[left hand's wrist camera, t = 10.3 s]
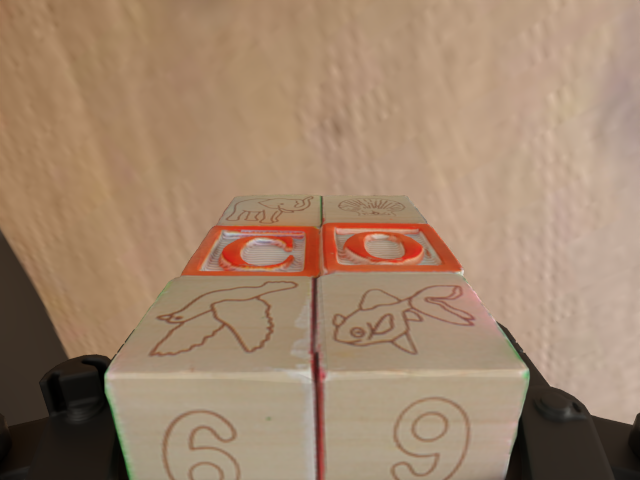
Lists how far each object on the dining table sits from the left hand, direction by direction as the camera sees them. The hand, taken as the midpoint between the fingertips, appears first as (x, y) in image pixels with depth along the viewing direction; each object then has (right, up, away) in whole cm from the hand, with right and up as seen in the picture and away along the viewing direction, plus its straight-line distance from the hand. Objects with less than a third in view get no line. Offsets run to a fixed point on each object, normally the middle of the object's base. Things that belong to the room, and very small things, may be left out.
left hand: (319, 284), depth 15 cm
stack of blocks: (0, -7, +3) cm, 7 cm away
